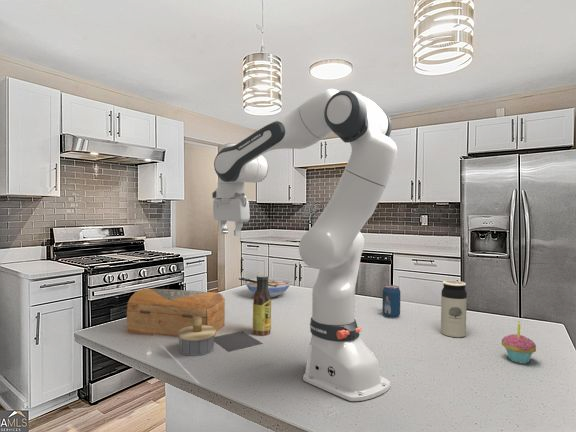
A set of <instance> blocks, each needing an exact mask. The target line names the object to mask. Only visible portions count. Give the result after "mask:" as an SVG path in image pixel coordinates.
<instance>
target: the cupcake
mask: <svg viewBox="0 0 576 432" xmlns="http://www.w3.org/2000/svg"><path fill="white" fill-rule="evenodd" d="M516 330H517V333H516V334H515V333H514V334H508V335H506V336H504V337H503V338H502V339H501V343H500V344H501V346H503V347H504V349H505V350H506V353H507V357H508V359H509V360H510V359H511V360H512V362H514V361H515V362H514V363H517V362H521V363H520V364H528V363H529V361H530V359H531V357H532V355H533V354H534V353H535V352H537V344H536V342H534V341H533V340H532V339H530V338H529V337H526V336H525V335H521V322H517V329H516ZM511 360H510V361H511ZM527 362H528V363H527Z"/></svg>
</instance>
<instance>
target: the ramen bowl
mask: <svg viewBox="0 0 576 432" xmlns="http://www.w3.org/2000/svg"><path fill="white" fill-rule="evenodd" d="M238 280H239V281H243V282H244V284H245V285H246V287H247V289H248V290H249V291H250V293H252V294H253V295H254V293H255V292H256V290H257V277H252V278H245V277H239V278H238ZM291 284H292V280H290V279H288V278H284V277H276V276H275V277H272V276H268V290H269V293H270V296H271V299H273V298H276V297H277V296H279V295H283V294H284V293H285V292H287V290H288V289H289V288H290V285H291Z"/></svg>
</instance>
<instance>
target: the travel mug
mask: <svg viewBox="0 0 576 432" xmlns="http://www.w3.org/2000/svg"><path fill="white" fill-rule="evenodd" d="M442 285H443V287H442V289H441V300H440V303H441V305H440V306H441V307H440V333H441V334H442V335H444V336H446V337H450V338H451V337H452V338H464V337H465V336H466V335H467V303H468V302H467V300H468V299H467V298H468V297H467V295H468V294H467V291H466V288H465V287H466V285H467V284H466V282H464V281H460V280H443V281H442Z"/></svg>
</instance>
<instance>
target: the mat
mask: <svg viewBox="0 0 576 432" xmlns="http://www.w3.org/2000/svg"><path fill="white" fill-rule="evenodd" d="M214 343H215V344H216V345H218V346H220V347H221V348H222V349H224V350H225V351H226V352H228V353H231V352H234V351H239V350H243V349H246V348H251V347H255V346H259V345H263V344H264V343H263V342H262V341H260V340H258V339H256V338H255V337H253V336H251V335H249V333H246V332H245V331H243V330H241V331H236V332H232V333H227V334H226V333H225V334H222V335H218V336H216V335H215V336H214Z"/></svg>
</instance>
